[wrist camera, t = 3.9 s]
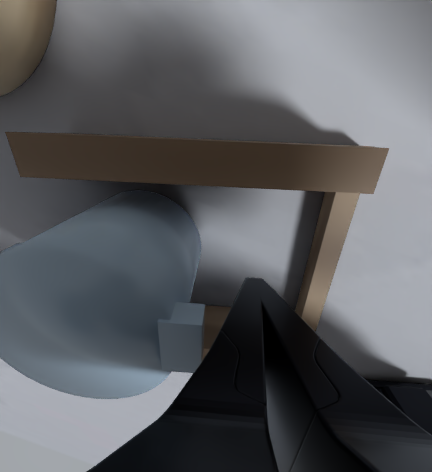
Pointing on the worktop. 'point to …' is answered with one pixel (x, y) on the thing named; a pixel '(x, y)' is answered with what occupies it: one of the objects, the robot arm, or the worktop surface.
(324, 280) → the cradle
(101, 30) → the worktop surface
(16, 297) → the jug
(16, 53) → the disc
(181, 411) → the robot arm
